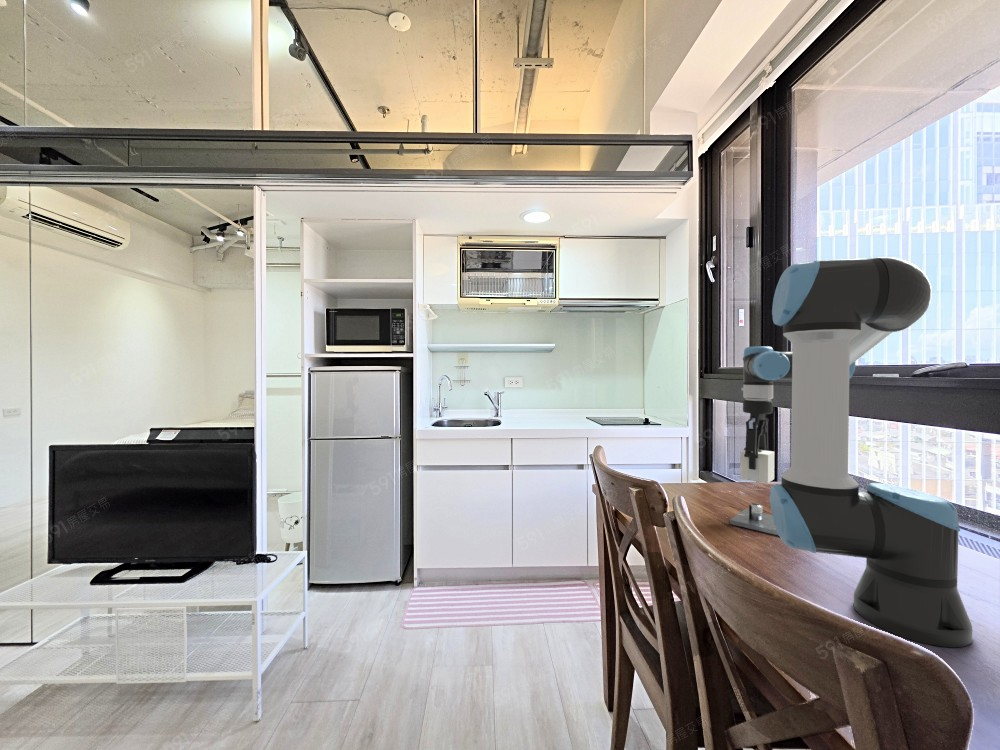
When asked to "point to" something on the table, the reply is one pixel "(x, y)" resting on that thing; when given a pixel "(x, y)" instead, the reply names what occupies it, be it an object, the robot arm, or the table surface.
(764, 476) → the block
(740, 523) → the hub plate
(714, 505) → the table surface
